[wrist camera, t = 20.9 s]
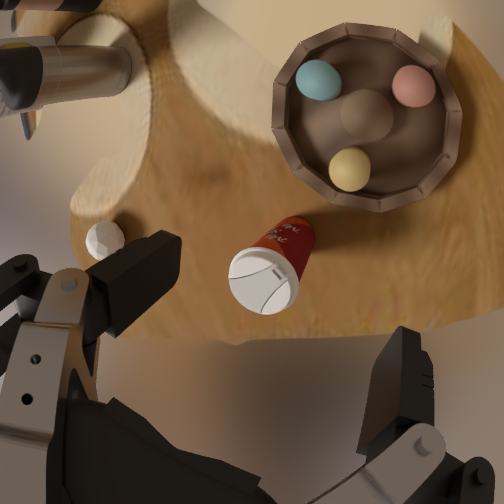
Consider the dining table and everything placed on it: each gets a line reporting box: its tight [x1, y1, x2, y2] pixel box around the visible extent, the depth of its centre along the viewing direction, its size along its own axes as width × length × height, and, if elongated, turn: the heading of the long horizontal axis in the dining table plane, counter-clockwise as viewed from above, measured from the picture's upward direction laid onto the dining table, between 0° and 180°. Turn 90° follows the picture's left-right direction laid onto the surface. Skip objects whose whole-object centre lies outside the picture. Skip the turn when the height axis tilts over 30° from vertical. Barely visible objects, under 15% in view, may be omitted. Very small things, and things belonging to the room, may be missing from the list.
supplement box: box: [0, 36, 56, 118], centre depth 40 cm, size 13×13×18 cm
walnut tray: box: [271, 23, 463, 213], centre depth 30 cm, size 22×22×3 cm
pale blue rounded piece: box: [296, 60, 343, 101], centre depth 29 cm, size 4×4×5 cm
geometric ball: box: [86, 220, 125, 260], centre depth 54 cm, size 8×8×8 cm
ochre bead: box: [329, 146, 371, 191], centre depth 32 cm, size 4×4×5 cm
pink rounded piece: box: [391, 65, 435, 108], centre depth 25 cm, size 4×4×5 cm
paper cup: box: [229, 217, 315, 314], centre depth 37 cm, size 8×8×14 cm
